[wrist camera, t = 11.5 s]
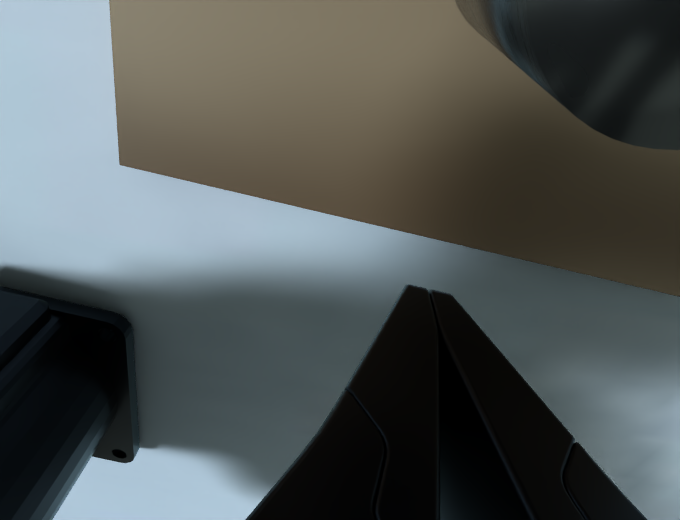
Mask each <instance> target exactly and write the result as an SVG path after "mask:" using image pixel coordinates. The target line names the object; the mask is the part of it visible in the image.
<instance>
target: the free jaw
mask: <svg viewBox="0 0 680 520" xmlns="http://www.w3.org/2000/svg"><path fill="white" fill-rule="evenodd" d="M455 2H456V5H457V7H458V9H459V10H460V12H461V14H462V16H463V17H464V18H465V20H466V21H467V22H468V23H469V24H470V25H471V26H472V27H473V28H474V29H475V30H476V31H477V32H478V33H479V34H480V35H482V36H483V37H484V38H485V39H486V40H487V41H489V42H490V43H491V44H492V45H493V46H494V47H496V48H497V49H498V50H499V51H500V52H501V53H502V54H504V55H505V56H506V57H507V58H508V59H509V60H511V61H512V62H513V63H514V64H515V65H516V66H518V67H519V68H520V69H521V70H522V71H523V72H525V73H526V74H527V75H528V76H529V77H530V78H531V79H533V80H534V81H535V82H536V83H537V84H538V85H540V86H541V87H542V88H543V89H544V90H545V91H547V92H548V93H549V94H550V95H551V96H552V97H553V98H555V99H556V100H557V101H558V102H559V103H560V104H562V105H563V106H564V107H565V108H566V109H567V110H569V111H570V112H571V113H572V114H573V115H574V116H576V117H577V118H578V119H579V120H581V121H582V122H584V123H585V124H587V125H588V126H589V127H591V128H592V129H594V130H596V131H598V132H600V133H602V134H604V135H606V136H608V137H610V138H612V139H615V140H618V141H621V142H624V143H627V144H630V145H634V146H639V147H645V148H651V149H663V150H680V0H455Z"/></svg>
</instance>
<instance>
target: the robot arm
mask: <svg viewBox="0 0 680 520" xmlns="http://www.w3.org/2000/svg"><path fill="white" fill-rule="evenodd" d="M111 330H112V331H111ZM574 441H575V439H574V437H573V436H572V435H571V434H570V432H569V431H568V430H567V429H566V428H565V427H564V425H563V424H562V423H561V422H560V421H559V420H558V418H557V417H556V416H555V415H554V414H553V413H552V411H551V410H550V409H549V408H548V407H547V406H546V404H545V403H544V402H543V401H542V400H541V399H540V397H539V396H538V395H537V394H536V393H535V392H534V390H533V389H532V388H531V387H530V386H529V385H528V383H527V382H526V381H525V380H524V379H523V378H522V376H521V375H520V374H519V373H518V372H517V371H516V369H515V368H514V367H513V366H512V365H511V364H510V362H509V361H508V360H507V359H506V358H505V356H504V355H503V354H502V353H501V352H500V351H499V349H498V348H497V347H496V346H495V345H494V344H493V342H492V341H491V340H490V339H489V338H488V337H487V335H486V334H485V333H484V332H483V331H482V330H481V328H480V327H479V326H478V325H477V324H476V323H475V321H474V320H473V319H472V318H471V317H470V316H469V314H468V313H467V312H466V311H465V310H464V309H463V307H462V306H461V305H460V304H459V303H458V302H457V300H456V299H455V298H454V297H453V296H452V295H451V294H448V293H444V292H439V291H435V290H430V291H429V292H428V290H427V289H426V288H422V287H418V286H413V285H406V286H405V287H404V289H403V290H402V292H401V294H400V296H399V297H398V299H397V301H396V302H395V304H394V306H393V307H392V309H391V311H390V313H389V314H388V316H387V318H386V319H385V321H384V323H383V325H382V326H381V328H380V330H379V331H378V333H377V335H376V337H375V338H374V340H373V342H372V343H371V345H370V347H369V348H368V350H367V352H366V354H365V355H364V357H363V359H362V360H361V362H360V364H359V366H358V367H357V369H356V371H355V372H354V374H353V376H352V377H351V379H350V381H349V383H348V384H347V386H346V388H345V390H344V391H343V392H342V394H341V396H340V397H339V399H338V401H337V403H336V404H335V406H334V408H333V409H332V411H331V412H330V414H329V415H328V417H327V418H326V420H325V422H324V423H323V425H322V426H321V428H320V429H319V431H318V432H317V433H316V435H315V436H314V437H313V438H312V440H311V441H310V442H309V444H308V445H307V446H306V448H305V449H304V450H303V451H302V453H301V454H300V455H299V457H298V458H297V459H296V460H295V461H294V463H293V464H292V465H291V466H290V467H289V469H288V470H287V471H286V472H285V473H284V475H283V476H282V477H281V478H280V479H279V480H278V482H277V483H276V484H275V485H274V486H273V488H272V489H271V490H270V491H269V492H268V494H267V495H266V496H265V497H264V498H263V499H262V501H261V502H260V503H259V504H258V505H257V507H256V508H255V509H254V510H253V511H252V513H251V514H250V515H249V516H248V517H247V518H246V520H647V519H646V518H645V517H644V515H643V514H642V513H641V512H640V511H639V510H638V509H637V508H636V507H635V506H634V505H633V504H632V503H631V502H630V501H629V500H628V499H627V498H626V496H625V495H624V494H623V493H622V492H621V491H620V490H619V489H618V487H617V486H616V485H615V484H614V483H613V482H612V481H611V480H610V478H609V477H608V476H607V475H606V474H605V473H604V472H603V471H602V469H601V468H600V467H599V466H598V465H597V464H596V463H595V461H594V460H593V459H592V458H591V457H590V456H589V454H588V453H587V452H586V451H585V450H584V449H583V447H582V446H581V445H580V444H579V443H577V442H575V443H574ZM139 447H140V446H139V429H138V412H137V395H136V378H135V361H134V344H133V329H132V326H131V324H130V322H129V321H128V320H127V319H126V318H125V317H123V316H122V315H120V314H117V313H115V312H111V311H106V310H102V309H98V308H93V307H89V306H84V305H80V304H76V303H71V302H67V301H62V300H58V299H54V298H49V297H45V296H40V295H36V294H32V293H27V292H23V291H18V290H14V289H10V288H5V287H1V286H0V520H52V519H53V518H54V516H55V515H56V513H57V511H58V510H59V508H60V506H61V505H62V503H63V502H64V500H65V498H66V497H67V495H68V494H69V492H70V490H71V489H72V487H73V485H74V484H75V482H76V481H77V479H78V477H79V476H80V474H81V473H82V471H83V469H84V468H85V466H86V464H87V463H88V461H89V460H90V458H91V456H93V457H98V458H102V459H107V460H112V461H116V462H121V463H128V462H131V461H133V459H134V457H135V456H136V454H137V452H138V450H139Z"/></svg>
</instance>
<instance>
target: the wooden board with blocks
mask: <svg viewBox="0 0 680 520" xmlns="http://www.w3.org/2000/svg"><path fill="white" fill-rule="evenodd" d="M109 4H110V20H111V36H112V51H113V67H114V83H115V99H116V115H117V131H118V147H119V162H120V165H122V166H127V167H131V168H135V169H139V170H144V171H148V172H152V173H156V174H161V175H165V176H169V177H173V178H178V179H182V180H186V181H190V182H195V183H199V184H203V185H207V186H212V187H216V188H220V189H224V190H229V191H233V192H237V193H241V194H246V195H250V196H254V197H258V198H263V199H267V200H271V201H275V202H280V203H284V204H288V205H292V206H297V207H301V208H305V209H309V210H314V211H318V212H322V213H326V214H331V215H335V216H339V217H343V218H348V219H352V220H356V221H360V222H365V223H369V224H373V225H377V226H382V227H386V228H390V229H394V230H399V231H403V232H407V233H411V234H416V235H420V236H424V237H428V238H433V239H437V240H441V241H445V242H450V243H454V244H458V245H462V246H467V247H471V248H475V249H479V250H484V251H488V252H492V253H496V254H501V255H505V256H509V257H513V258H518V259H522V260H526V261H530V262H535V263H539V264H543V265H547V266H552V267H556V268H560V269H564V270H569V271H573V272H577V273H581V274H586V275H590V276H594V277H598V278H603V279H607V280H611V281H615V282H620V283H624V284H628V285H632V286H636V287H641V288H645V289H649V290H653V291H658V292H662V293H666V294H670V295H675V296H679V297H680V150H663V149H651V148H645V147H639V146H634V145H630V144H627V143H624V142H621V141H618V140H615V139H612V138H610V137H608V136H606V135H604V134H602V133H600V132H598V131H596V130H594V129H592V128H591V127H589V126H588V125H587V124H585V123H584V122H582V121H581V120H579V119H578V118H577V117H576V116H574V115H573V114H572V113H571V112H570V111H569V110H567V109H566V108H565V107H564V106H563V105H562V104H560V103H559V102H558V101H557V100H556V99H555V98H553V97H552V96H551V95H550V94H549V93H548V92H547V91H545V90H544V89H543V88H542V87H541V86H540V85H538V84H537V83H536V82H535V81H534V80H533V79H531V78H530V77H529V76H528V75H527V74H526V73H525V72H523V71H522V70H521V69H520V68H519V67H518V66H516V65H515V64H514V63H513V62H512V61H511V60H509V59H508V58H507V57H506V56H505V55H504V54H502V53H501V52H500V51H499V50H498V49H497V48H496V47H494V46H493V45H492V44H491V43H490V42H489V41H487V40H486V39H485V38H484V37H483V36H482V35H480V34H479V33H478V32H477V31H476V30H475V29H474V28H473V27H472V26H471V25H470V24H469V23H468V22H467V21H466V20H465V18H464V17H463V16H462V14H461V12H460V10H459V9H458V7H457V5H456V2H455V0H109Z"/></svg>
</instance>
